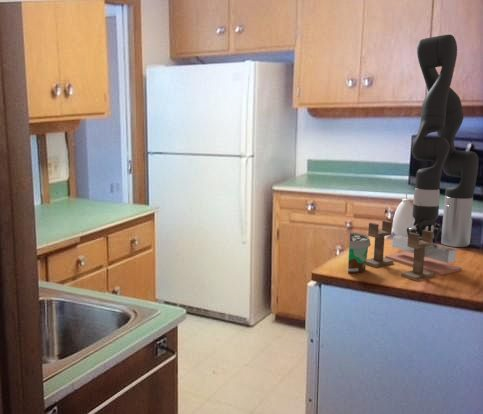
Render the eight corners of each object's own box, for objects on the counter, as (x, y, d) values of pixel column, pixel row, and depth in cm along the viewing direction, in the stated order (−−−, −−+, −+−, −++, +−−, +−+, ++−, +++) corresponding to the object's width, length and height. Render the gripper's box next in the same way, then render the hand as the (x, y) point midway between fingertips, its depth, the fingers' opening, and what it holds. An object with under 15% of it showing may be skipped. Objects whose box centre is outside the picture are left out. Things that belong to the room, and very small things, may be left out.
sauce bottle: (418, 242, 195) (422, 193, 192) (399, 243, 193) (402, 194, 190) (407, 237, 202) (410, 190, 199) (388, 238, 201) (391, 190, 197)
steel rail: (399, 245, 178) (400, 235, 177) (455, 261, 161) (456, 249, 160) (392, 247, 176) (392, 236, 175) (447, 263, 159) (448, 251, 158)
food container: (369, 276, 156) (371, 243, 154) (347, 275, 157) (349, 241, 155) (368, 264, 167) (370, 233, 166) (348, 263, 169) (349, 231, 167)
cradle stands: (380, 259, 173) (383, 219, 171) (433, 276, 157) (437, 232, 154) (363, 263, 169) (365, 222, 166) (415, 280, 152) (418, 235, 150)
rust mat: (405, 253, 180) (406, 251, 180) (461, 270, 163) (462, 267, 163) (385, 258, 175) (385, 255, 175) (440, 275, 158) (440, 272, 157)
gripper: (430, 199, 172) (426, 251, 175) (400, 203, 165) (396, 257, 168) (451, 203, 166) (446, 257, 169) (421, 207, 158) (416, 263, 162)
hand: (421, 257), depth 169 cm, fingers closed on steel rail, 3 cm apart
